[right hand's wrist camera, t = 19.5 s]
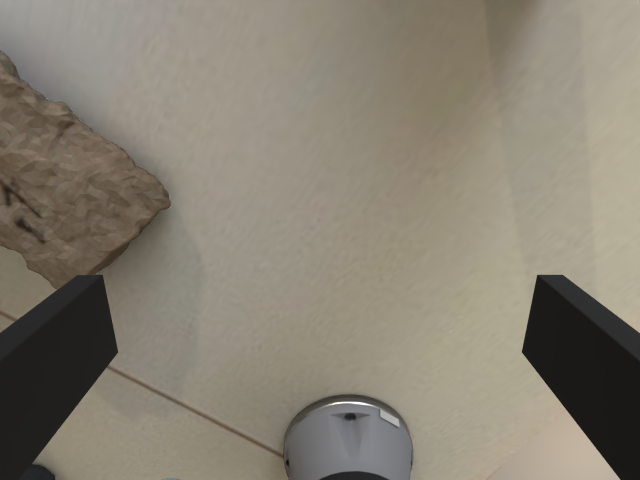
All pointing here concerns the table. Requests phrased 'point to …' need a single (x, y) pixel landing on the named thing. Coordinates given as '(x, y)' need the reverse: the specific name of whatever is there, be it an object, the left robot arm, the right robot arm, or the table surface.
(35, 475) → the robot
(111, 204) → the stone
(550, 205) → the table surface
